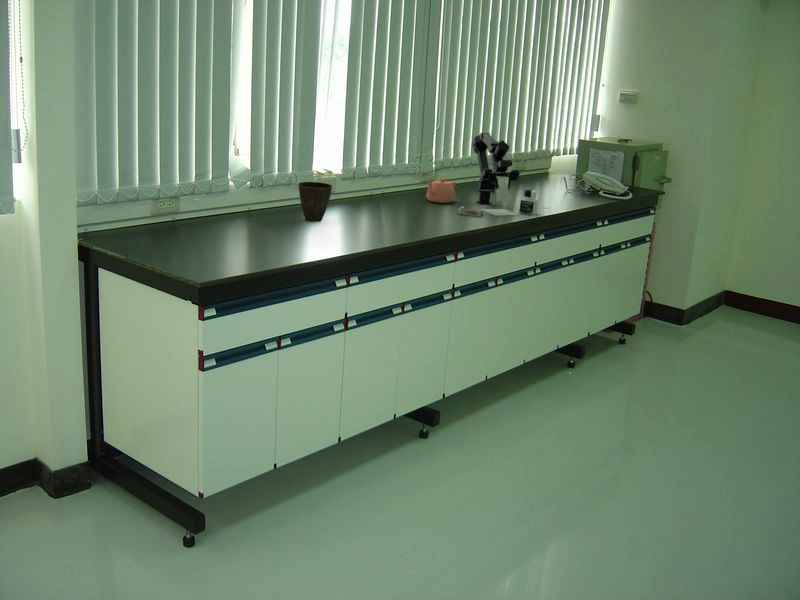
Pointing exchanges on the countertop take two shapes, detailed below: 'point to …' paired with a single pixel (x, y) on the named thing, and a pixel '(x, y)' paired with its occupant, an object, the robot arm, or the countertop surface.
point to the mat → (500, 212)
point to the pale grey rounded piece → (502, 189)
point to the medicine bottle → (529, 203)
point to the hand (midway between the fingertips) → (503, 188)
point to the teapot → (441, 191)
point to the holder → (470, 212)
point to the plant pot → (314, 199)
